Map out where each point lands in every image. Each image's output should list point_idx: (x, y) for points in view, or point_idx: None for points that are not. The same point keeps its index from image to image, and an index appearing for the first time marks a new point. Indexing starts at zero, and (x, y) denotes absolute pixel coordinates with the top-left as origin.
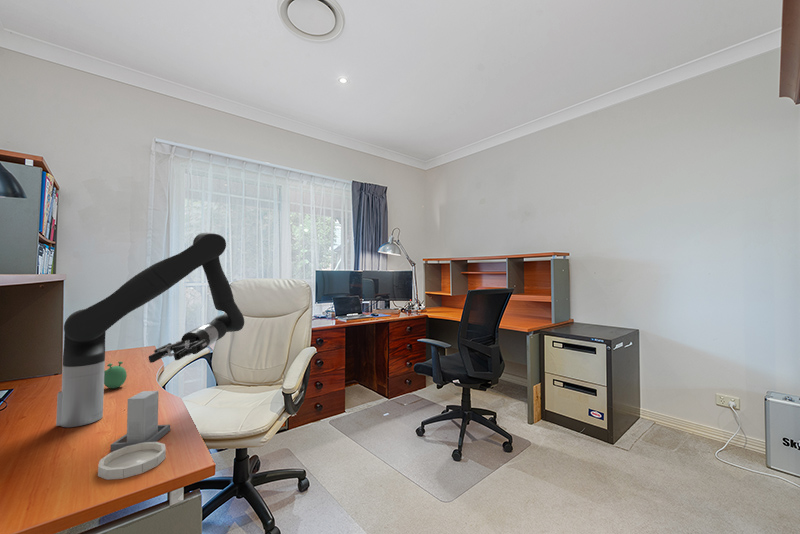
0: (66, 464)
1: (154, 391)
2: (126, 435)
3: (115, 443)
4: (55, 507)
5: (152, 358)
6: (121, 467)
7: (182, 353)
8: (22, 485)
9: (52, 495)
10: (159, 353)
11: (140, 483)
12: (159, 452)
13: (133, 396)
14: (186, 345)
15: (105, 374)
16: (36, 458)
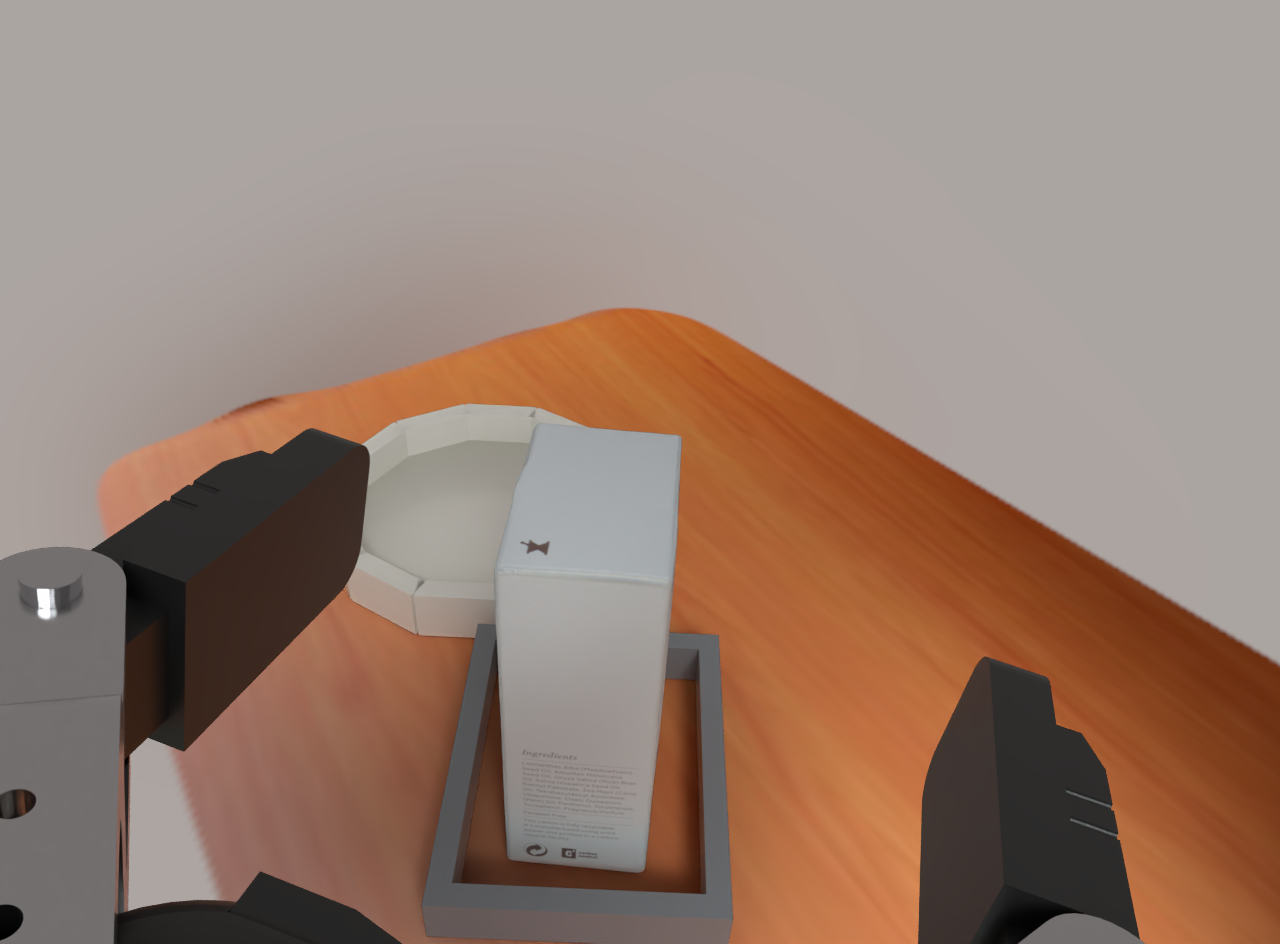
0: (855, 575)
1: (528, 553)
2: (704, 747)
3: (696, 642)
4: (615, 353)
5: (958, 734)
6: (482, 413)
7: (189, 504)
8: (883, 462)
9: (686, 399)
10: (979, 892)
11: (376, 407)
12: None
13: (665, 467)
14: (54, 706)
15: None
16: (1116, 657)
